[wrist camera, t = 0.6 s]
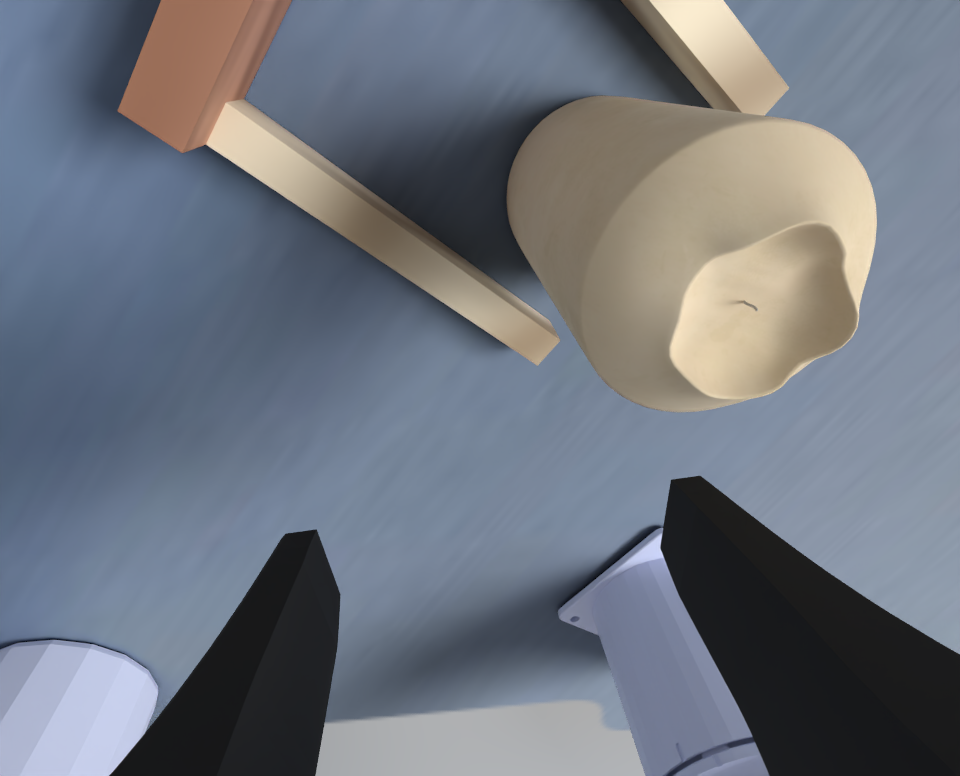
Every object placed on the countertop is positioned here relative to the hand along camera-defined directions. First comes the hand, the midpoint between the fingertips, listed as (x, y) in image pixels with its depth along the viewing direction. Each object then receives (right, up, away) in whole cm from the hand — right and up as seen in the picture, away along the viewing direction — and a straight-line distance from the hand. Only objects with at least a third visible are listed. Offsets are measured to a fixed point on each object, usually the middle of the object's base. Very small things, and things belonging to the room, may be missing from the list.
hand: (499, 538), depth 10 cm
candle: (+3, +10, +6) cm, 12 cm away
